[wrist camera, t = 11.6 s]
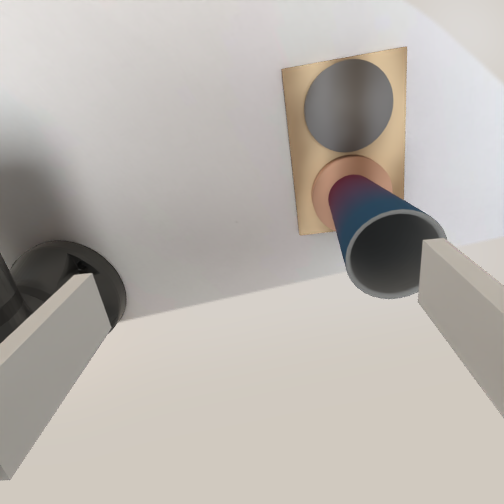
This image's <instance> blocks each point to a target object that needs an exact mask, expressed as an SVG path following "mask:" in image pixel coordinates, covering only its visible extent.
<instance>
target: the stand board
mask: <svg viewBox="0 0 504 504" xmlns="http://www.w3.org/2000/svg"><path fill="white" fill-rule="evenodd" d="M406 71H407V47H401V48H396V49H390V50H385V51H379V52H373V53H368V54H362V55H357V56H351V57H346V58H340V59H335V60H329V61H324V62H318V63H313V64H307V65H302V66H296V67H290V68H285V69H282V78H283V87H284V96H285V106H286V115H287V124H288V133H289V143H290V152H291V161H292V170H293V180H294V189H295V198H296V207H297V217H298V226H299V234H300V235H308V234H316V233H325V232H333V231H336V229H335V225H334V221H333V218H332V214H331V210H330V206H329V202H328V197H329V192H330V190H331V188H332V186H333V185H334V184H335V183H336V182H337V181H338V180H339V179H341V178H342V177H344V176H347V175H353V174H354V175H361V176H364V177H366V178H368V179H369V180H371V181H373V182H374V183H376V184H378V185H379V186H381V187H383V188H384V189H386V190H388V191H389V192H391V193H393V194H394V195H396V196H398V197H399V198H401V199H403V200H404V160H405V116H406Z"/></svg>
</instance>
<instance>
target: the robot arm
mask: <svg viewBox="0 0 504 504" xmlns="http://www.w3.org/2000/svg"><path fill="white" fill-rule="evenodd" d="M418 303H419V304H420V305H421V307H422V308H423V310H424V311H425V312H426V314H427V315H428V316H429V318H430V319H431V320H432V322H433V323H434V324H435V326H436V327H437V328H438V330H439V331H440V333H441V334H442V335H443V337H444V338H445V339H446V341H447V342H448V343H449V345H450V346H451V347H452V349H453V350H454V351H455V353H456V354H457V355H458V357H459V358H460V360H461V361H462V362H463V364H464V365H465V366H466V368H467V369H468V370H469V372H470V373H471V375H472V376H473V377H474V379H475V380H476V381H477V383H478V384H479V385H480V387H481V388H482V389H483V391H484V392H485V393H486V395H487V396H488V398H489V399H490V400H491V401H492V403H493V404H494V406H495V407H496V408H497V410H498V411H499V412H500V414H501V415H502V416H503V418H504V285H502V284H501V283H500V282H499V281H497V280H496V279H495V278H493V277H492V276H491V275H490V274H489V273H487V272H486V271H485V270H484V269H482V268H481V267H480V266H478V265H477V264H476V263H475V262H474V261H472V260H471V259H470V258H469V257H467V256H466V255H465V254H464V253H462V252H461V251H460V250H458V249H457V248H456V247H455V246H453V245H452V244H451V243H450V242H448V241H447V240H446V239H445V238H438V239H428V240H423V244H422V256H421V269H420V281H419V294H418ZM125 305H126V294H125V289H124V286H123V283H122V281H121V279H120V277H119V275H118V274H117V272H116V271H115V269H114V268H113V267H112V266H111V265H110V264H109V262H108V261H106V260H105V259H104V258H103V257H102V256H100V255H99V254H98V253H96V252H94V251H93V250H91V249H89V248H87V247H85V246H82V245H80V244H76V243H73V242H67V241H50V242H45V243H42V244H39V245H37V246H35V247H34V248H32V249H30V250H29V251H27V252H26V253H24V254H23V255H22V256H20V257H19V258H18V259H17V260H16V261H15V263H14V264H13V265H12V267H11V269H10V271H9V269H8V267H7V265H6V263H5V261H4V259H3V257H2V255H1V253H0V480H10V479H11V478H12V476H13V475H14V473H15V472H16V470H17V469H18V468H19V466H20V464H21V463H22V462H23V460H24V459H25V457H26V455H27V454H28V452H29V451H30V450H31V448H32V447H33V445H34V443H35V442H36V440H37V439H38V438H39V436H40V435H41V433H42V431H43V430H44V428H45V427H46V426H47V424H48V423H49V421H50V420H51V418H52V416H53V415H54V414H55V412H56V411H57V409H58V408H59V406H60V404H61V403H62V401H63V400H64V399H65V397H66V396H67V394H68V393H69V391H70V390H71V388H72V386H73V385H74V384H75V382H76V381H77V379H78V377H79V376H80V375H81V373H82V371H83V370H84V369H85V367H86V366H87V364H88V363H89V361H90V360H91V358H92V357H93V355H94V354H95V352H96V351H97V349H98V348H99V346H100V345H101V343H102V341H103V340H104V338H105V337H106V336H107V334H108V333H109V332H111V330H112V329H113V328H114V327H115V326H116V324H117V323H118V321H119V320H120V318H121V317H122V315H123V313H124V310H125Z"/></svg>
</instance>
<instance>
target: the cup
mask: <svg viewBox="0 0 504 504" xmlns="http://www.w3.org/2000/svg"><path fill="white" fill-rule="evenodd" d="M328 202H329V206H330V210H331V214H332V218H333V221H334V225H335V229H336V233H337V236H338V240H339V244H340V247H341V251H342V255H343V259H344V262H345V266H346V270H347V273H348V275H349V277H350V279H351V281H352V282H353V283H354V284H355V285H356V287H357V288H359V289H360V290H361V291H363V292H364V293H366V294H369V295H371V296H374V297H378V298H384V299H395V298H402V297H406V296H410V295H412V294H414V293H417V292H419V281H420V269H421V256H422V244H423V240H428V239H438V238H445V239H446V240H447V237H446V235H445V232H444V230H443V228H442V227H441V226H440V224H439V223H438V222H437V221H436V220H434V219H433V218H432V217H431V216H429V215H428V214H426V213H424V212H423V211H421V210H419V209H418V208H416V207H414V206H413V205H411V204H409V203H408V202H406V201H404V200H403V199H401V198H399V197H398V196H396V195H394V194H393V193H391V192H389V191H388V190H386V189H384V188H383V187H381V186H379V185H378V184H376V183H374V182H373V181H371V180H369V179H368V178H366V177H364V176H361V175H354V174H353V175H347V176H344V177H342V178H341V179H339V180H338V181H337V182H336V183H335V184H334V185H333V186H332V188H331V190H330V192H329V197H328Z"/></svg>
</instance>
